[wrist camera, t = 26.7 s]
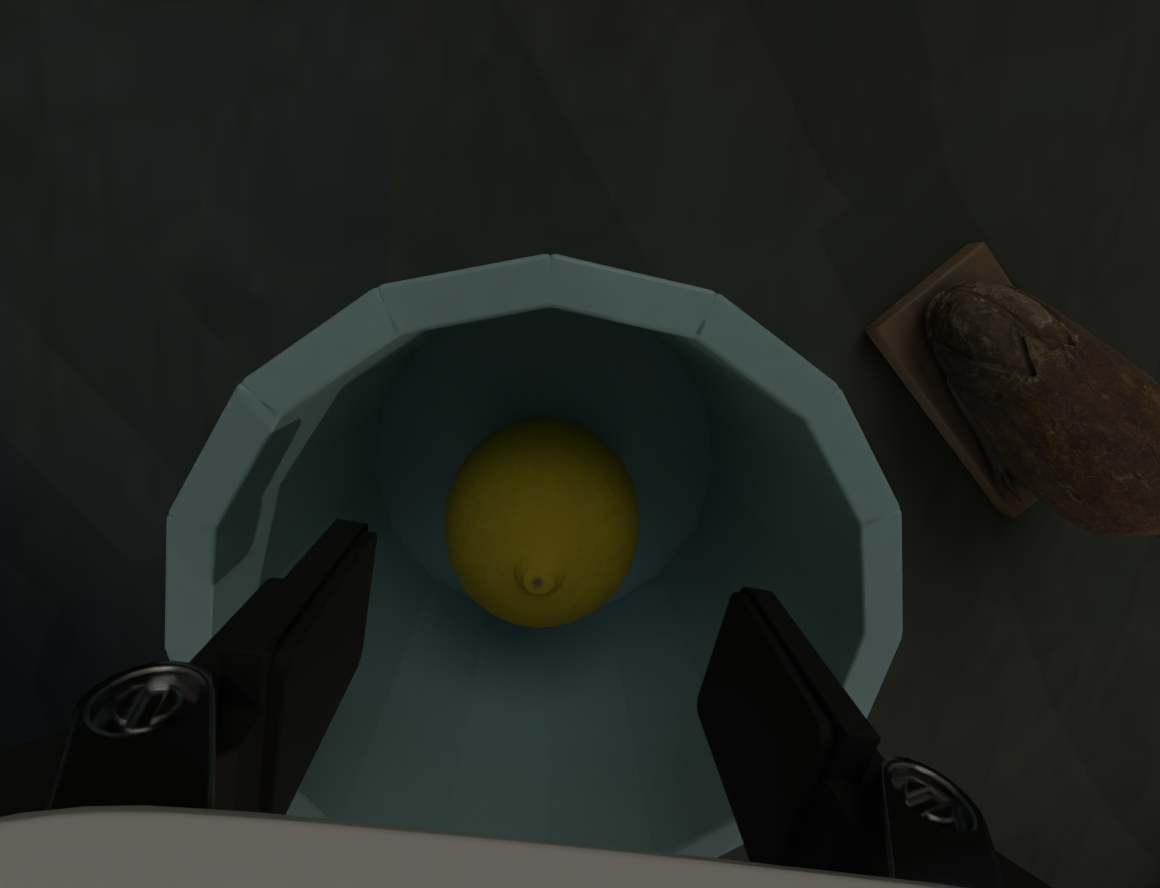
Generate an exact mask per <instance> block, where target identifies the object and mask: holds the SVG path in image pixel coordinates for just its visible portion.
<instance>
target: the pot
mask: <svg viewBox="0 0 1160 888" xmlns="http://www.w3.org/2000/svg"><path fill="white" fill-rule="evenodd" d="M538 417H544V418H556V419H564V420H567V421H569V422H572V423H575V424H578V425H581V426H584V427H585V428H587V429H589V430H590V431H592V432H593V433H595V434H596V435H598V436H599V437H601V438H602V439H604V440H605V442H606V443H607V444H608V445H609V446H610V447H611V448H612V449H613V450H614V451H615V452H616V454H617V455H618V456H619V457H620V458H621V460H622V461H623V463H624V465H625V467H626V469H627V471H628V473H629V475H630V477H631V479H632V481H633V483H634V487H635V492H636V497H637V502H638V506H639V530H638V543H637V547H636V550H635V553H634V556H633V559H632V562H631V565H630V568H629V570H628V573H627V574H626V576H625V577H624V579H623V580H622V582H621V583H620V585H619V586H618V588H617V589H616V591H615V592H614V594H613V595H612V596H611V597H610V598H609V599H608V600H606V601H605V602H604V603H603V604H602V605H601V606H600V607H599V608H598V609H597V610H595V611H593V612H591V613H590V614H588V615H586V616H584V617H582V618H581V619H579V620H577V621H574V622H570V623H567V624H563V625H559V626H556V627H539V628H533V627H527V626H521V625H516V624H513V623H510V622H508V621H505V620H503V619H501V618H498V617H496V616H494V615H492V614H491V613H489V612H488V611H487V610H485V609H484V608H483V607H481V606H480V605H479V604H477V603H476V602H475V601H474V600H473V599H472V597H471V596H470V595H469V594H468V593H467V592H466V590H465V589H464V588H463V587H462V585H461V584H460V582H459V580H458V578H457V576H456V574H455V572H454V570H453V567H452V565H451V563H450V560H449V557H448V551H447V545H446V539H445V533H444V520H445V510H446V500H447V495H448V493H449V490H450V488H451V485H452V483H453V480H454V478H455V475H456V473H457V470H458V468H459V467H460V465H461V464H462V463H463V461H464V460H465V459H466V457H467V456H468V455H469V453H470V452H471V451H472V449H473V448H474V447H475V446H476V445H477V444H479V443H480V442H481V441H482V440H484V439H485V438H486V437H487V436H489V435H490V434H491V433H492V432H494V431H495V430H497V429H500V428H502V427H504V426H507V425H509V424H511V423H513V422H516V421H519V420H526V419H532V418H538ZM336 519H343V520H349V521H355V522H361V523H367V524H368V531H371V532H376V533H377V543H376V550H375V558H374V566H373V574H372V582H371V589H370V597H369V605H368V613H367V620H366V628H365V636H364V644H363V650H362V655H361V659H360V662H359V665H358V667H357V670H356V672H355V674H354V676H353V678H352V680H351V682H350V684H349V686H348V688H347V690H346V692H345V694H344V696H343V698H342V700H341V702H340V705H339V707H338V709H337V711H336V713H335V715H334V717H333V719H332V721H331V723H330V725H329V727H328V729H327V731H326V733H325V735H324V737H323V739H322V741H321V743H320V745H319V747H318V749H317V752H316V754H315V756H314V758H313V760H312V762H311V764H310V766H309V768H308V770H307V772H306V774H305V776H304V778H303V780H302V782H301V784H300V786H299V788H298V790H297V792H296V794H295V796H294V799H293V801H292V803H291V805H290V807H289V809H288V811H287V813H286V815H292V816H303V817H314V818H324V819H335V820H345V821H355V822H365V823H376V824H386V825H396V826H406V827H416V828H427V829H437V830H447V831H457V832H467V833H478V834H488V835H498V836H508V837H518V838H528V839H537V840H547V841H557V842H566V843H576V844H586V845H595V846H605V847H615V848H624V849H633V850H643V851H652V852H662V853H671V854H681V855H690V856H699V857H709V858H717V857H719V856H721V855H723V854H725V853H727V852H729V851H731V850H733V849H735V848H736V847H738V846H740V845H742V844H744V843H743V840H742V838H741V835H740V832H739V829H738V826H737V824H736V821H735V818H734V815H733V812H732V809H731V807H730V804H729V801H728V798H727V795H726V793H725V790H724V787H723V784H722V781H721V778H720V776H719V773H718V770H717V767H716V764H715V761H714V759H713V756H712V753H711V750H710V747H709V745H708V742H707V739H706V736H705V733H704V730H703V728H702V725H701V722H700V719H699V716H698V712H697V698H698V694H699V691H700V688H701V685H702V682H703V679H704V676H705V673H706V670H707V667H708V664H709V661H710V657H711V654H712V651H713V648H714V645H715V642H716V639H717V636H718V633H719V630H720V627H721V624H722V621H723V618H724V615H725V612H726V609H727V605H728V602H729V599H730V597H731V595H732V594H733V593H734V592H739V591H740V590H741V588H743V587H751V588H757V589H763V590H769V591H772V592H773V593H774V594H775V596H776V597H777V599H778V600H779V601H780V603H781V604H782V605H783V607H784V608H785V609H786V611H787V612H788V613H789V615H790V616H791V617H792V619H793V620H794V622H795V623H796V624H797V626H798V627H799V628H800V630H801V631H802V632H803V634H804V635H805V636H806V638H807V639H808V640H809V642H810V643H811V645H812V646H813V647H814V649H815V650H816V651H817V653H818V654H819V655H820V657H821V658H822V659H823V661H824V662H825V663H826V665H827V666H828V668H829V669H830V670H831V672H832V673H833V674H834V676H835V677H836V678H837V680H838V681H839V682H840V684H841V685H842V687H843V688H844V689H845V691H846V692H847V693H848V695H849V696H850V697H851V699H852V700H853V701H854V703H855V704H856V705H857V707H858V708H859V710H860V711H861V712H862V714H863V715H864V716H865V718H866V719H867V717H868V714H869V712H870V710H871V707H872V705H873V703H874V700H875V698H876V696H877V693H878V691H879V689H880V687H881V684H882V682H883V680H884V677H885V675H886V673H887V670H888V668H889V666H890V663H891V661H892V659H893V657H894V654H895V652H896V650H897V647H898V645H899V643H900V640H901V638H902V632H903V617H902V513H901V511H900V509H899V504H898V502H897V500H896V498H895V496H894V494H893V492H892V490H891V488H890V486H889V484H888V482H887V480H886V478H885V476H884V474H883V472H882V470H881V468H880V466H879V464H878V462H877V460H876V458H875V456H874V454H873V452H872V450H871V448H870V446H869V444H868V442H867V440H866V438H865V436H864V434H863V432H862V430H861V428H860V426H859V424H858V422H857V420H856V418H855V416H854V414H853V412H852V410H851V408H850V406H849V404H848V402H847V400H846V398H845V396H844V394H843V392H842V390H841V389H839V388H838V386H837V384H836V383H835V382H834V381H833V380H831V379H830V378H829V377H828V376H826V375H825V374H824V373H822V372H821V371H820V370H818V369H817V368H816V367H815V366H813V365H812V364H811V363H809V362H808V361H807V360H805V359H804V358H803V357H802V356H800V355H799V354H798V353H796V352H795V351H794V350H792V349H791V348H790V347H789V346H787V345H786V344H785V343H783V342H782V341H781V340H779V339H778V338H777V337H776V336H774V335H773V334H772V333H770V332H769V331H768V330H767V329H765V328H764V327H763V326H761V325H760V324H759V323H757V322H756V321H755V320H754V319H752V318H751V317H750V316H748V315H747V314H746V313H744V312H743V311H742V310H741V309H739V308H738V307H737V306H735V305H734V304H733V303H731V302H730V301H729V300H728V299H726V298H725V297H724V296H722V295H721V294H716V293H715V292H714V291H712V290H709V289H704V288H700V287H696V286H691V285H687V284H683V283H679V282H674V281H670V280H666V279H661V278H657V277H653V276H648V275H644V274H640V273H635V272H631V271H627V270H623V269H618V268H614V267H610V266H605V265H601V264H597V263H592V262H588V261H584V260H580V259H575V258H571V257H567V256H562V255H558V254H553V255H551V256H550V255H549V254H541V255H535V256H530V257H525V258H519V259H514V260H509V261H504V262H498V263H493V264H488V265H482V266H477V267H472V268H466V269H461V270H456V271H450V272H445V273H440V274H434V275H429V276H424V277H418V278H413V279H408V280H402V281H397V282H392V283H386V284H382V285H380V286H379V288H374V289H371V290H370V291H368V292H367V293H365V294H364V295H363V296H361V297H360V298H358V299H357V300H355V301H354V302H353V303H351V304H350V305H348V306H347V307H345V308H344V309H343V310H341V311H340V312H338V313H337V314H336V315H334V316H333V317H331V318H330V319H328V320H327V321H326V322H324V323H323V324H321V325H320V326H318V327H317V328H316V329H314V330H313V331H311V332H310V333H308V334H307V335H306V336H304V337H303V338H301V339H300V340H299V341H297V342H296V343H294V344H293V345H291V346H290V347H289V348H287V349H286V350H284V351H283V352H281V353H280V354H279V355H277V356H276V357H274V358H273V359H271V360H270V361H269V362H267V363H266V364H264V365H263V366H262V367H260V368H259V369H257V370H256V371H254V372H253V373H252V374H250V375H249V376H247V377H246V378H245V379H244V380H243V382H242V383H240V384H239V385H237V387H236V389H235V391H234V393H233V395H232V396H231V398H230V400H229V402H228V404H227V406H226V407H225V409H224V411H223V413H222V415H221V417H220V419H219V420H218V422H217V424H216V426H215V428H214V430H213V431H212V433H211V435H210V437H209V439H208V441H207V442H206V444H205V446H204V448H203V450H202V452H201V453H200V455H199V457H198V459H197V461H196V463H195V465H194V466H193V468H192V470H191V472H190V474H189V476H188V477H187V479H186V481H185V483H184V485H183V487H182V488H181V490H180V492H179V494H178V496H177V498H176V500H175V501H174V503H173V505H172V507H171V509H170V511H169V515H168V516H167V531H166V599H165V650H166V651H167V655H168V657H169V659H170V661H180V662H190V661H191V660H192V659H193V658H194V656H195V655H196V654H197V653H198V652H199V651H200V650H201V649H202V648H203V647H204V646H205V645H206V644H207V643H208V642H209V641H210V639H211V638H212V637H213V636H214V635H215V634H216V633H217V632H218V631H219V630H220V629H221V628H222V627H223V626H224V625H225V624H226V622H227V621H228V620H229V619H230V618H231V617H232V616H233V615H234V614H235V613H236V612H237V611H238V610H239V609H240V608H241V607H242V606H243V604H244V603H245V602H246V601H247V600H248V599H249V598H250V597H251V596H252V595H253V594H254V593H255V592H256V591H257V590H258V589H259V587H260V586H261V585H262V584H263V583H264V582H265V581H267V580H268V579H269V578H281V579H283V578H284V577H285V576H286V575H287V574H288V573H289V572H290V571H291V569H292V568H293V567H294V566H295V565H296V564H297V563H298V562H299V560H300V559H301V558H302V557H303V556H304V555H305V554H306V553H307V551H308V550H309V549H310V548H311V547H312V546H313V545H314V544H315V542H316V541H317V540H318V539H319V538H320V537H321V536H322V535H323V533H324V532H325V531H326V530H327V529H328V528H329V527H330V526H331V524H332V523H333V522H334V521H335V520H336Z"/></svg>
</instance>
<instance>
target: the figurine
mask: <svg viewBox="0 0 1160 888" xmlns="http://www.w3.org/2000/svg"><path fill="white" fill-rule="evenodd" d="M865 332H866V333H867V334H868V336H869V337H870V338H871V340H872V341H873V342H874V344H875V345H876V346H877V348H878V349H879V350H880V352H881V353H882V355H883V356H884V357H885V359H886V360H887V361H888V363H889V364H890V365H891V367H892V368H893V370H894V371H895V372H896V373H897V375H898V376H899V378H900V379H901V380H902V381H903V383H904V384H905V386H906V387H907V389H908V390H909V391H910V392H911V394H912V395H913V396H914V398H915V399H916V400H917V402H918V403H919V404H920V406H921V407H922V409H923V410H924V411H925V413H926V414H927V415H928V417H929V418H930V419H931V421H932V422H933V423H934V425H935V426H936V427H937V429H938V430H939V432H940V433H941V435H942V436H943V437H944V439H945V440H946V441H947V443H948V444H949V445H950V447H951V448H952V449H953V451H954V452H955V453H956V455H957V456H958V457H959V459H960V460H961V462H962V463H963V464H964V466H965V467H966V468H967V469H968V471H969V472H970V473H971V475H972V476H973V477H974V479H975V480H976V481H977V483H978V484H979V485H980V487H981V488H982V490H983V491H984V492H985V494H986V495H987V496H988V498H989V499H990V501H991V502H992V504H993V505H994V507H995V508H996V509H997V510H998V511H999V512H1001V513H1003V514H1005V515H1007V516H1009V517H1011V518H1014V517H1016V516H1017V515H1018V514H1020V513H1021V512H1023V511H1024V510H1025V509H1026V508H1028V507H1029V506H1030V505H1032V504H1033V503H1034V502H1036V501H1037V500H1038V499H1041V500H1042V501H1043V502H1044V503H1046V504H1047V505H1048V506H1049V507H1051V508H1052V509H1053V510H1055V511H1056V512H1057V513H1058V514H1060V515H1061V516H1063V517H1064V518H1065V519H1067V520H1068V521H1070V522H1071V523H1073V524H1075V525H1076V526H1078V527H1080V528H1082V529H1084V530H1087V531H1089V532H1091V533H1094V534H1096V535H1101V536H1108V537H1116V536H1148V535H1157V536H1159V537H1160V384H1159V383H1158V382H1156V381H1155V380H1154V379H1153V378H1152V377H1151V376H1149V375H1148V374H1147V373H1146V372H1144V371H1143V370H1141V369H1140V368H1138V367H1137V366H1135V365H1134V364H1133V363H1132V362H1130V361H1129V360H1127V359H1126V358H1125V357H1124V356H1122V355H1121V354H1120V353H1119V352H1117V351H1116V350H1114V349H1113V348H1112V347H1110V346H1109V345H1107V344H1105V343H1104V342H1102V341H1101V340H1099V339H1098V338H1096V337H1095V336H1094V335H1092V334H1091V333H1089V332H1088V331H1086V330H1085V329H1083V328H1082V327H1080V326H1079V325H1078V324H1076V323H1075V322H1073V321H1072V320H1070V319H1069V318H1068V317H1066V316H1065V315H1063V314H1062V313H1060V312H1059V311H1057V310H1056V309H1054V308H1053V307H1051V306H1049V305H1048V304H1046V303H1045V302H1043V301H1041V300H1039V299H1038V298H1036V297H1034V296H1032V295H1030V294H1028V293H1026V292H1024V291H1022V290H1021V289H1019V288H1016V287H1013V286H1012V284H1011V282H1010V281H1009V279H1008V278H1007V276H1006V275H1005V273H1004V271H1003V270H1002V268H1001V267H1000V265H999V264H998V262H997V261H996V259H995V258H994V256H993V255H992V253H991V251H990V250H989V248H988V247H987V245H986V244H985V243H984V242H978V243H972V244H967V245H966V246H964V247H963V248H962V249H960V250H959V251H958V252H957V253H955V254H954V255H953V256H952V257H951V258H949V259H948V260H947V261H946V262H945V263H943V264H942V265H941V266H940V267H939V268H937V269H936V270H935V271H934V272H933V273H931V274H930V275H929V276H928V277H927V278H925V279H924V280H923V281H922V282H921V283H919V284H918V285H917V286H916V287H914V288H913V289H912V290H911V291H909V292H908V293H907V294H906V295H905V296H903V297H902V298H901V299H900V300H899V301H897V302H896V303H895V304H894V305H893V306H892V307H890V308H889V309H888V310H887V311H885V312H884V313H883V314H882V315H881V316H880V317H878V318H877V319H876V320H875V321H874V322H872V323H871V324H870V325H869V326H868V327H866V328H865Z"/></svg>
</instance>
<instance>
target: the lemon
mask: <svg viewBox="0 0 1160 888" xmlns="http://www.w3.org/2000/svg"><path fill="white" fill-rule="evenodd" d="M638 530H639V506H638V502H637V497H636V492H635V487H634V483H633V481H632V479H631V477H630V475H629V473H628V471H627V469H626V467H625V465H624V463H623V461H622V460H621V458H620V457H619V456H618V455H617V454H616V452H615V451H614V450H613V449H612V448H611V447H610V446H609V445H608V444H607V443H606V442H605V440H604V439H602V438H601V437H599V436H598V435H596V434H595V433H593V432H592V431H590V430H589V429H587V428H585V427H584V426H581V425H578V424H575V423H572V422H569V421H567V420H564V419H556V418H544V417H538V418H532V419H526V420H519V421H516V422H513V423H511V424H509V425H507V426H504V427H502V428H500V429H497V430H495V431H494V432H492V433H491V434H490V435H489V436H487V437H486V438H485V439H484V440H482V441H481V442H480V443H479V444H477V445H476V446H475V447H474V448H473V449H472V451H471V452H470V453H469V455H468V456H467V457H466V459H465V460H464V461H463V463H462V464H461V465H460V467H459V468H458V470H457V473H456V475H455V478H454V480H453V483H452V485H451V488H450V490H449V493H448V495H447V500H446V510H445V520H444V533H445V539H446V545H447V551H448V557H449V560H450V563H451V565H452V567H453V570H454V572H455V574H456V576H457V578H458V580H459V582H460V584H461V585H462V587H463V588H464V589H465V590H466V592H467V593H468V594H469V595H470V596H471V597H472V599H473V600H474V601H475V602H476V603H477V604H479V605H480V606H481V607H483V608H484V609H485V610H487V611H488V612H489V613H491V614H492V615H494V616H496V617H498V618H501V619H503V620H505V621H508V622H510V623H513V624H516V625H521V626H527V627H533V628H539V627H556V626H559V625H563V624H567V623H570V622H574V621H577V620H579V619H581V618H582V617H584V616H586V615H588V614H590V613H591V612H593V611H595V610H597V609H598V608H599V607H600V606H601V605H602V604H603V603H604V602H605V601H606V600H608V599H609V598H610V597H611V596H612V595H613V594H614V592H615V591H616V589H617V588H618V586H619V585H620V583H621V582H622V580H623V579H624V577H625V576H626V574H627V573H628V570H629V568H630V565H631V562H632V559H633V556H634V553H635V550H636V547H637V543H638Z"/></svg>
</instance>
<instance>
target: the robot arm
mask: <svg viewBox="0 0 1160 888" xmlns="http://www.w3.org/2000/svg"><path fill="white" fill-rule="evenodd" d="M376 543H377V533H376V532H371V531H368V524H367V523H361V522H355V521H349V520H343V519H336V520H335V521H334V522H333V523H332V524H331V526H330V527H329V528H328V529H327V530H326V531H325V532H324V533H323V535H322V536H321V537H320V538H319V539H318V540H317V541H316V542H315V544H314V545H313V546H312V547H311V548H310V549H309V550H308V551H307V553H306V554H305V555H304V556H303V557H302V558H301V559H300V560H299V562H298V563H297V564H296V565H295V566H294V567H293V568H292V569H291V571H290V572H289V573H288V574H287V575H286V576H285V577H284V578H283V579H281V578H269V579H268V580H267V581H265V582H264V583H263V584H262V585H261V586H260V587H259V589H258V590H257V591H256V592H255V593H254V594H253V595H252V596H251V597H250V598H249V599H248V600H247V601H246V602H245V603H244V604H243V606H242V607H241V608H240V609H239V610H238V611H237V612H236V613H235V614H234V615H233V616H232V617H231V618H230V619H229V620H228V621H227V622H226V624H225V625H224V626H223V627H222V628H221V629H220V630H219V631H218V632H217V633H216V634H215V635H214V636H213V637H212V638H211V639H210V641H209V642H208V643H207V644H206V645H205V646H204V647H203V648H202V649H201V650H200V651H199V652H198V653H197V654H196V655H195V656H194V658H193V659H192V660H191V661H190V662H180V661H163V662H153V663H148V664H144V665H140V666H135V667H132V668H129V669H127V670H124V671H122V672H119V673H116V674H114V675H112V676H110V677H108V678H107V679H105V680H103V681H102V682H100V683H98V684H97V685H95V686H94V687H93V688H91V689H90V690H89V691H88V692H87V693H86V694H85V695H84V696H83V697H82V698H81V699H80V700H79V702H78V704H77V706H76V707H75V709H74V711H73V713H72V716H71V720H70V723H69V727H68V729H66V730H64V731H61V732H58V733H55V734H52V735H49V736H46V737H43V738H40V739H37V740H34V741H31V742H28V743H25V744H22V745H19V746H16V747H13V748H11V749H8V750H5V751H2V752H0V888H1052V887H1050V886H1049V885H1047V884H1046V883H1044V882H1043V881H1041V880H1040V879H1038V878H1037V877H1035V876H1034V875H1032V874H1031V873H1029V872H1027V871H1026V870H1024V869H1023V868H1021V867H1020V866H1018V865H1017V864H1015V863H1014V862H1012V861H1011V860H1009V859H1008V858H1006V857H1004V856H1003V855H1001V854H1000V853H998V852H997V851H995V849H994V846H993V843H992V840H991V837H990V834H989V831H988V828H987V825H986V822H985V820H984V818H983V816H982V814H981V812H980V810H979V809H978V807H977V806H976V805H975V804H974V802H973V801H972V800H971V799H970V797H969V796H968V795H967V794H966V793H965V792H964V791H962V790H961V789H960V788H959V787H958V786H957V785H956V784H955V783H954V782H952V781H951V780H949V779H948V778H947V777H945V776H944V775H942V774H941V773H939V772H938V771H936V770H934V769H932V768H930V767H928V766H927V765H925V764H923V763H920V762H917V761H914V760H912V759H909V758H903V757H890V758H886V759H885V760H884V759H883V757H882V756H881V755H880V753H879V752H878V750H877V749H876V748H877V746H878V744H879V742H880V739H881V738H880V737H879V735H878V734H877V733H876V731H875V730H874V728H873V727H872V726H871V724H870V723H869V722H868V720H867V719H866V718H865V716H864V715H863V714H862V712H861V711H860V710H859V708H858V707H857V705H856V704H855V703H854V701H853V700H852V699H851V697H850V696H849V695H848V693H847V692H846V691H845V689H844V688H843V687H842V685H841V684H840V682H839V681H838V680H837V678H836V677H835V676H834V674H833V673H832V672H831V670H830V669H829V668H828V666H827V665H826V663H825V662H824V661H823V659H822V658H821V657H820V655H819V654H818V653H817V651H816V650H815V649H814V647H813V646H812V645H811V643H810V642H809V640H808V639H807V638H806V636H805V635H804V634H803V632H802V631H801V630H800V628H799V627H798V626H797V624H796V623H795V622H794V620H793V619H792V617H791V616H790V615H789V613H788V612H787V611H786V609H785V608H784V607H783V605H782V604H781V603H780V601H779V600H778V599H777V597H776V596H775V594H774V593H773V592H772V591H769V590H763V589H757V588H751V587H743V588H741V590H740V591H739V592H734V593H733V594H732V595H731V597H730V599H729V602H728V605H727V609H726V612H725V615H724V618H723V621H722V624H721V627H720V630H719V633H718V636H717V639H716V642H715V645H714V648H713V651H712V654H711V657H710V661H709V664H708V667H707V670H706V673H705V676H704V679H703V682H702V685H701V688H700V691H699V694H698V698H697V712H698V716H699V719H700V722H701V725H702V728H703V730H704V733H705V736H706V739H707V742H708V745H709V747H710V750H711V753H712V756H713V759H714V761H715V764H716V767H717V770H718V773H719V776H720V778H721V781H722V784H723V787H724V790H725V793H726V795H727V798H728V801H729V804H730V807H731V809H732V812H733V815H734V818H735V821H736V824H737V826H738V829H739V832H740V835H741V838H742V840H743V843H744V846H745V849H746V852H747V855H748V857H749V860H750V862H745V861H736V860H727V859H718V858H709V857H699V856H690V855H681V854H671V853H662V852H652V851H643V850H633V849H624V848H615V847H605V846H595V845H586V844H576V843H566V842H557V841H547V840H537V839H528V838H518V837H508V836H498V835H488V834H478V833H467V832H457V831H447V830H437V829H427V828H416V827H406V826H396V825H386V824H376V823H365V822H355V821H345V820H335V819H324V818H314V817H303V816H292V815H286V813H287V811H288V809H289V807H290V805H291V803H292V801H293V799H294V796H295V794H296V792H297V790H298V788H299V786H300V784H301V782H302V780H303V778H304V776H305V774H306V772H307V770H308V768H309V766H310V764H311V762H312V760H313V758H314V756H315V754H316V752H317V749H318V747H319V745H320V743H321V741H322V739H323V737H324V735H325V733H326V731H327V729H328V727H329V725H330V723H331V721H332V719H333V717H334V715H335V713H336V711H337V709H338V707H339V705H340V702H341V700H342V698H343V696H344V694H345V692H346V690H347V688H348V686H349V684H350V682H351V680H352V678H353V676H354V674H355V672H356V670H357V667H358V665H359V662H360V659H361V655H362V650H363V644H364V636H365V628H366V620H367V613H368V605H369V597H370V589H371V582H372V574H373V566H374V558H375V550H376Z"/></svg>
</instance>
